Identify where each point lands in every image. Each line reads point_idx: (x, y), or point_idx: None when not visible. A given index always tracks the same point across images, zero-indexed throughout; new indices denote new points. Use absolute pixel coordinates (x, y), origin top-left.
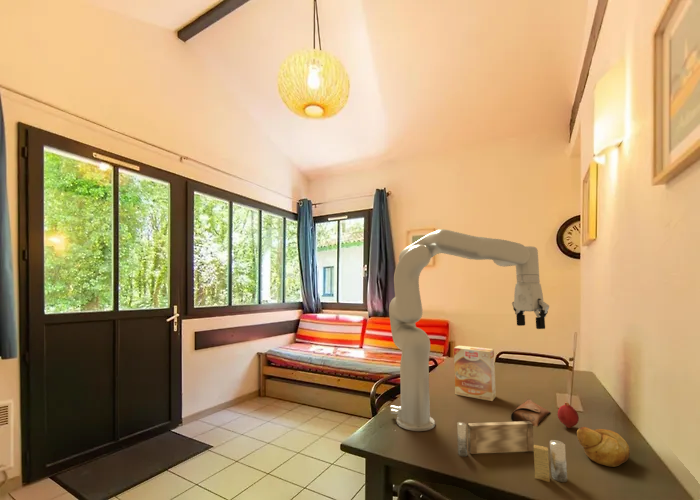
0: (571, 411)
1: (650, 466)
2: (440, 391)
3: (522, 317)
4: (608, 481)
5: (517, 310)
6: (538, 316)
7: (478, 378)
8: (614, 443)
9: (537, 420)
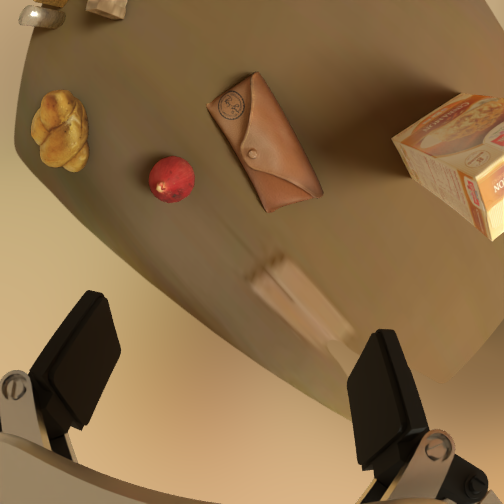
0: (150, 179)
1: (52, 174)
2: (487, 81)
3: (367, 433)
4: (37, 80)
5: (420, 488)
6: (20, 383)
7: (446, 127)
8: (32, 128)
9: (218, 121)
